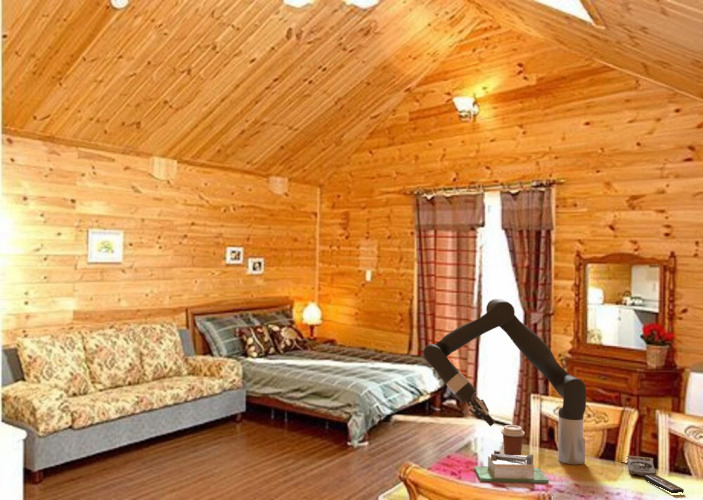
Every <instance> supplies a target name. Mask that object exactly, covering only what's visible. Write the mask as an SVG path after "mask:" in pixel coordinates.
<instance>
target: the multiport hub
mask: <svg viewBox="0 0 703 500" xmlns="http://www.w3.org/2000/svg"><path fill="white" fill-rule="evenodd" d="M644 479H645V480H647V481H649V482H650V483H649V482H648V483H649V484H651V483H652V484H654V485H656V486H658V487H661V488H663V489H665V490H667V491H669V492H671V493H678V492H682V493H683V492H685V491H684V490H685V489H684V488H682V487H680V486H678V485H676V484H675V483H673V482H670V481H668V480H667V479H665V478H663V477H661V476H659V475H657V474H656V475H645V477H644ZM645 480H644V481H645ZM647 481H646V482H647ZM652 484H651V485H652ZM654 485H653V486H654ZM656 486H655V487H656ZM658 487H657V488H658Z"/></svg>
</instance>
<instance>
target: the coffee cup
mask: <svg viewBox="0 0 703 500" xmlns="http://www.w3.org/2000/svg"><path fill="white" fill-rule="evenodd" d="M500 432H501V434H502V439H503V440H502V441H503V454H505V455H521V456H522V452H523V451H522V449H523V439H524V436H525V433H526V432H525V431H524V430H523V427H521V426H519V425H515V424H507V425H504V426H503V428H502V429H501V431H500Z"/></svg>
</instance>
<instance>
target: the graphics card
mask: <svg viewBox="0 0 703 500" xmlns="http://www.w3.org/2000/svg"><path fill="white" fill-rule="evenodd" d="M627 457H628V459H627V460H628V462H627V463H626V464H627V468H628V469H627V470H628V472H629V474H631V475H634V474H638V475H637V476H642V475H655V472H656V469H655V466H654V458H652V457H648V456H647V457H646V456H645V457H644V456H636V455H628V456H627Z"/></svg>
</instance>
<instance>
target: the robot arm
mask: <svg viewBox="0 0 703 500" xmlns="http://www.w3.org/2000/svg"><path fill="white" fill-rule="evenodd" d="M485 310H486V313H485V314H483V315H482V316H480V317H479V318H477V319H474V320H472V321H469V322H468V323H465V324H463V325H461V326H459V327H456V328H455V329H453V330H452V331H450V332H449V333H447V334H446V335H444V336H443V337H442V338H441V339H440V340H439V341H437V342H436V343H434V344H432V343H431V344H428V345H426V346H425V347H424V349H423V353H422V355H423V357H424V360H425V361H426V363H428V364H429V365H430V366H431V367H432V368H433V369H434V370H435V372H436V373H437V375H438V376H439V377H440V379H441V380H442V381H443V382H444V383H445V384H446V386H447V387H448V389H449V390H450V391H451V393H452V394H453V395H454V396H455V397H456V398H457V400H458V401H459V402H460V403H461V404H464V403H466V404H467V406H468V407H469V409H468V411H469V412H470V413H472V414H473V415H474V416H476V417H478V418H479V419H483V420H484V421H485V423H487V425H488V426H489V427H492V426H493V425H494V424H496V421H495V420H494V418H493V417H492V416H491V415H490V413H489V412H490V410H489V408H488V406H487V405H486V402H485V401H484V399H481V398H479V397H478V396H477V395H476V393H477V389H476V387H474V385H473V384H472V383H471V381H469V380H468V379H467V377H466V376H464V374H462V373H461V372H460V370H459V369H458V368H457V367H456V366H455V364H454V363H452V362H451V361H450V359H449V358H448V356H450V355H451V354H453V352H456V351H458V350H459V349H461V348H462V347H464V346H465V345H467V344H468V343H470V342H471V341H473V340H475V339H477V338H478V337H480V336H482V335H483V334H485V333H488V332H490V331H491V330H494V329H497V328H501V330H503V332H504V333H506V335H507V336H508V337H509V338H510V340H511V341H512V343H513V344H514V345H515V346H516V348H518V350H519V352H521V354H523V356H524V357H525V358H526V359H527V360H528V361H529V362H530V363H531V364H532V365H533V366H534V367H535V368H536V369H537V370H538V371H539V372H540V373H541V374H542V375H544V377H545V378H547V380H548V381H549V383H550V384H551V385H552V387H553V388H554V390H555V391H556V392H557V394H559V396H561V397H562V398H563V399H562V400H563V402H562V407H560V408H558V437H557V438H558V441H557V443H558V444H557V445H558V446H557V448H558V449H557V452H558V453H557V459H558V461H559V462H560V463H563V464H567V465H581V464H586V439H585V437H584V414H585V412H586V409H587V408H586V407H587V406H586V405H587V387H586V384H585V382H584V381H583V380H582V379H580V378H578V377H576V376H573V375H571V374H570V373H569V372H568V371H566V370H565V369H564V368H563V367H562V366H561V365H560V364H559V363H558V361H557V360H556V357H555V356H554V354H553V352H552V350H551V348H550V347H549V346H548V344H546V343H545V342H544V340H542V338H541V337H540V336H539V335H538V334H537V333H536V332H534V331H533V330H532V329H531V328H529V327H528V326H526V325H525V323H523V322H522V321H520V319H519V318H518V317H517V316H516V314H515V313H516V312H515V308H514V306H513V304H511V303H510V302H509V301H507V300H504V299H502V298H494V299H491V300H490V301H489V302H488V303H487V304H486V308H485Z"/></svg>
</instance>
